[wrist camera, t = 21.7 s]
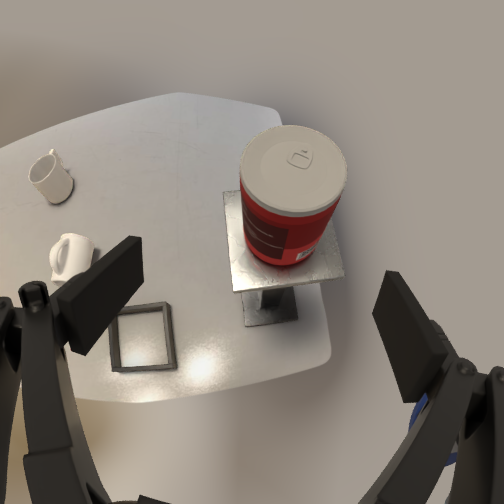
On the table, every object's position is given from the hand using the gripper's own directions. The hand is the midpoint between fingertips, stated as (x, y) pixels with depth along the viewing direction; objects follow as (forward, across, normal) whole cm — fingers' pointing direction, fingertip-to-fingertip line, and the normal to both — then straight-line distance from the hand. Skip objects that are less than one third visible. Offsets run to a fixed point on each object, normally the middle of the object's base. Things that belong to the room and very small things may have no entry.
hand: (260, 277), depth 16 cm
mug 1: (+51, -57, -10) cm, 77 cm away
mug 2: (+36, -40, -24) cm, 60 cm away
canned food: (+16, +1, -3) cm, 16 cm away
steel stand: (+36, +1, -24) cm, 44 cm away
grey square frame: (+28, -22, -33) cm, 48 cm away
